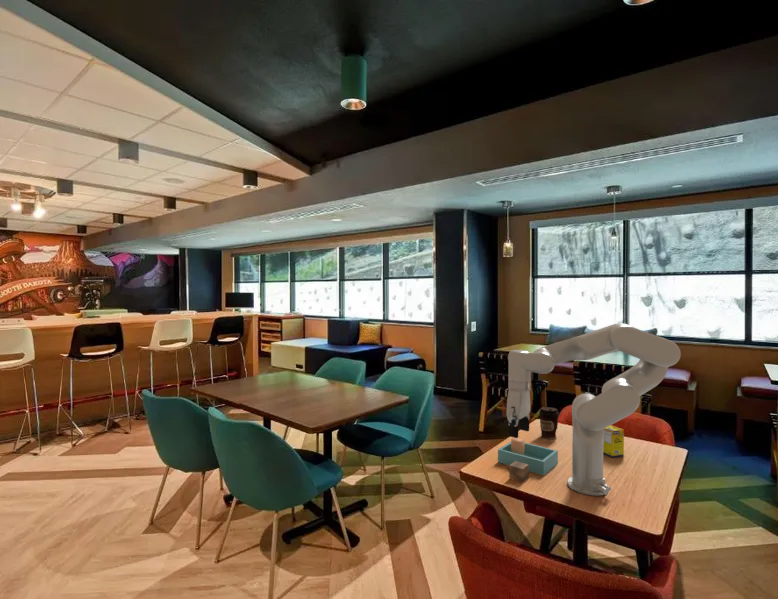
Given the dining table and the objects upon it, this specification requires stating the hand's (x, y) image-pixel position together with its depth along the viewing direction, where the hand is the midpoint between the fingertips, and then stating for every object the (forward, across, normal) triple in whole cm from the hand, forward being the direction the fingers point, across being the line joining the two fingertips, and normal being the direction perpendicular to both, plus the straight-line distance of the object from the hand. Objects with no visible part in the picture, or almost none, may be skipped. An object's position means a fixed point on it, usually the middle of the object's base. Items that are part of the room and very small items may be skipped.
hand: (519, 433), depth 150 cm
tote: (+16, -15, -3) cm, 22 cm away
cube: (+16, 0, 0) cm, 16 cm away
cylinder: (+15, -15, -7) cm, 22 cm away
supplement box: (+16, -46, +19) cm, 52 cm away
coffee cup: (+16, -49, -8) cm, 52 cm away
